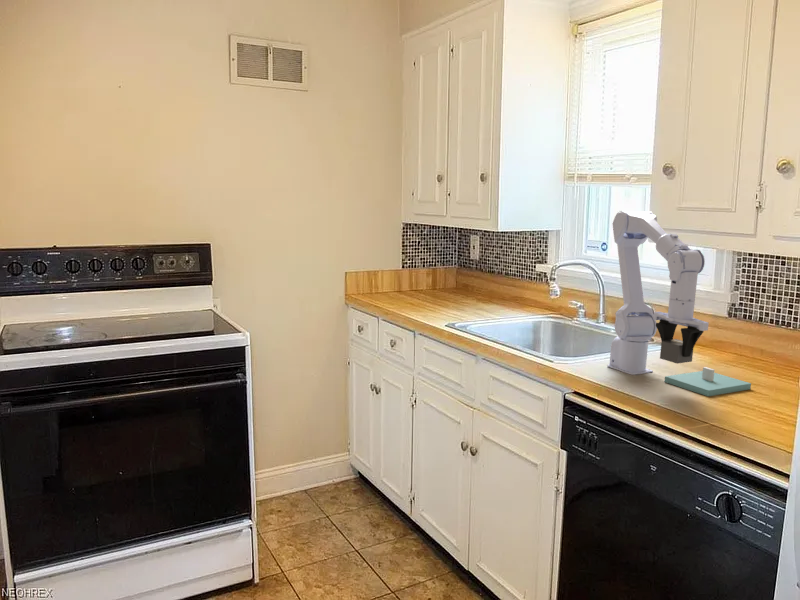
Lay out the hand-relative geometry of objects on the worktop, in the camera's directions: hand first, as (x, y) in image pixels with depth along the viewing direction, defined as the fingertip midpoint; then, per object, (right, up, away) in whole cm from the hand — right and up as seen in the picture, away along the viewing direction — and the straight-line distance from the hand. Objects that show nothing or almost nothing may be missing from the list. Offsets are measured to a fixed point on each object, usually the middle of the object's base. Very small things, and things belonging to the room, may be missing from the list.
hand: (676, 353), depth 159 cm
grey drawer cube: (0, -2, 0) cm, 2 cm away
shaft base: (+11, -9, +7) cm, 15 cm away
